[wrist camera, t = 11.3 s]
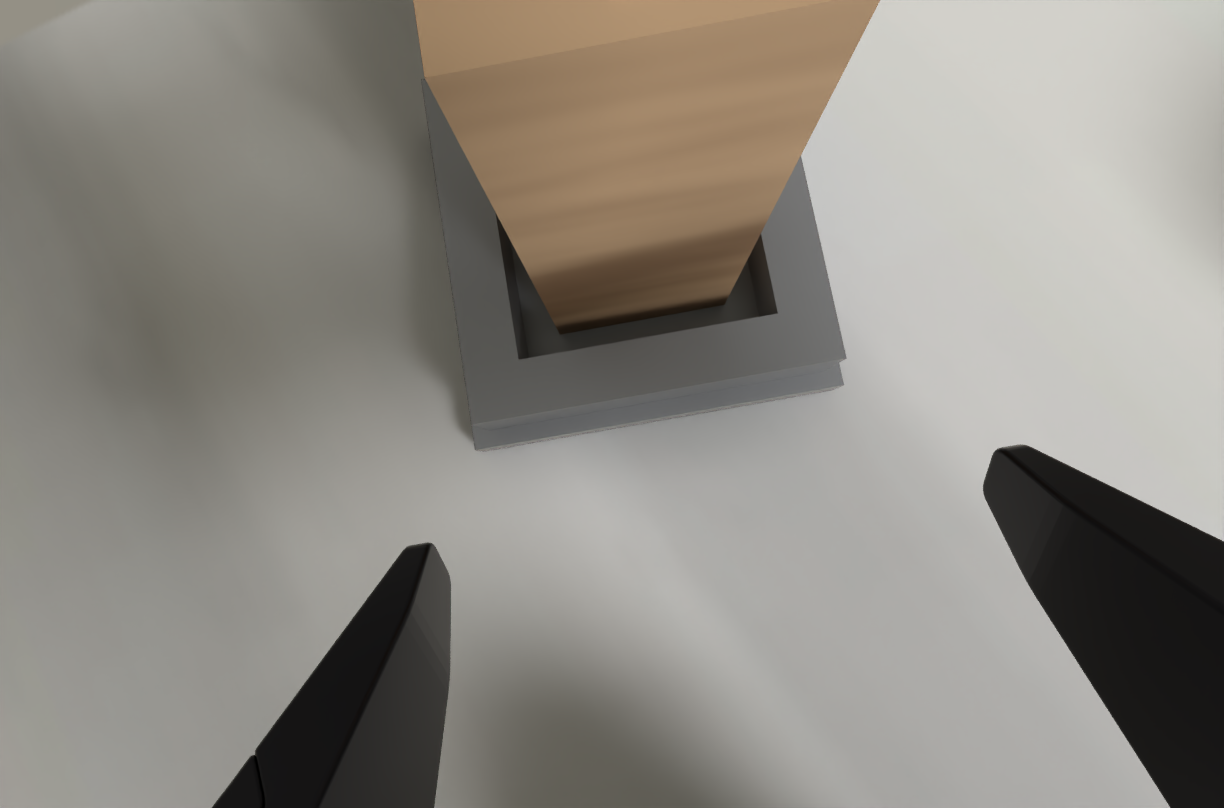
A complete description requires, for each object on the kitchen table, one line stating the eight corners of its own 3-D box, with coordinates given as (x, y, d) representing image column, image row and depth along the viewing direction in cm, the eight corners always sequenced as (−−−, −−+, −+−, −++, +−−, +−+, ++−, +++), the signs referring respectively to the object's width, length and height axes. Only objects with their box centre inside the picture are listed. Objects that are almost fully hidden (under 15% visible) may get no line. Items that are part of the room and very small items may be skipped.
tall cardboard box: (724, 305, 18) (888, -16, 6) (560, 334, 19) (421, 71, 7) (692, 150, 19) (788, -405, 7) (534, 179, 19) (363, -320, 7)
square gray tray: (833, 390, 19) (872, 372, 16) (483, 451, 19) (453, 446, 16) (761, 65, 20) (784, -11, 17) (435, 126, 21) (399, 62, 17)
